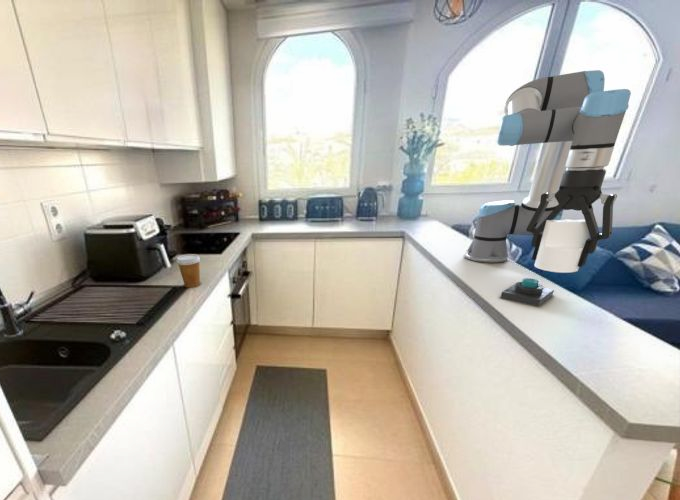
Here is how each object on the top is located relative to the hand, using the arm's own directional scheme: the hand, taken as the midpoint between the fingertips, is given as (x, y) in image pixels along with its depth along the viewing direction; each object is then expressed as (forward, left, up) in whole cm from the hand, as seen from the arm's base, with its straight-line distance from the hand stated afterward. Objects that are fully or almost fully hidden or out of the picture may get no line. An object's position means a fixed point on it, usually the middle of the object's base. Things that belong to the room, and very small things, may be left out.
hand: (557, 261), depth 89 cm
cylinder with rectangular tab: (0, 0, -2) cm, 2 cm away
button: (-13, -8, -12) cm, 20 cm away
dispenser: (-13, -8, -16) cm, 22 cm away
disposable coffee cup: (+57, -104, -16) cm, 120 cm away
